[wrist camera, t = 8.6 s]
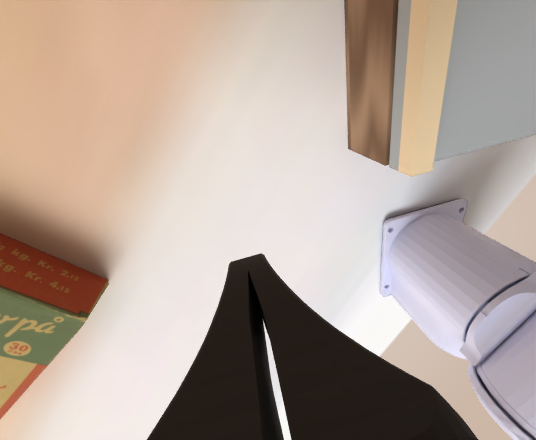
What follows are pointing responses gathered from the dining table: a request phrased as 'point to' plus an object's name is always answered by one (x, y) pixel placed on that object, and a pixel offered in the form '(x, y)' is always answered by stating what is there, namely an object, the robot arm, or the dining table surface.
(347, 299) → the dining table surface
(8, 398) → the carton
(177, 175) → the dining table surface
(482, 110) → the lid
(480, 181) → the dining table surface
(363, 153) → the box
